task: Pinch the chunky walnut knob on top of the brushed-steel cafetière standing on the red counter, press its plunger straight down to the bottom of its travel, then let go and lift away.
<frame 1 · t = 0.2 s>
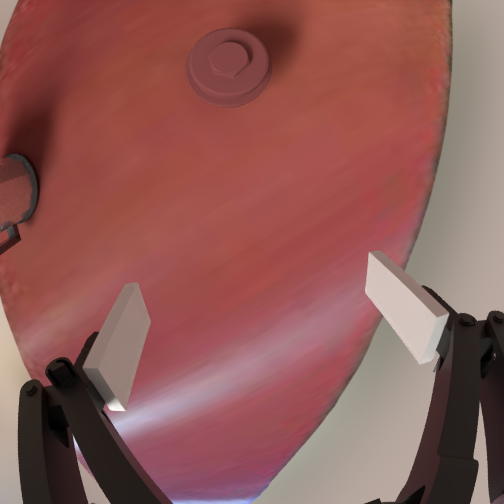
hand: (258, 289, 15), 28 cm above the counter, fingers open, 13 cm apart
mechanical component: (227, 80, 34), on the counter
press: (15, 188, 36), on the counter
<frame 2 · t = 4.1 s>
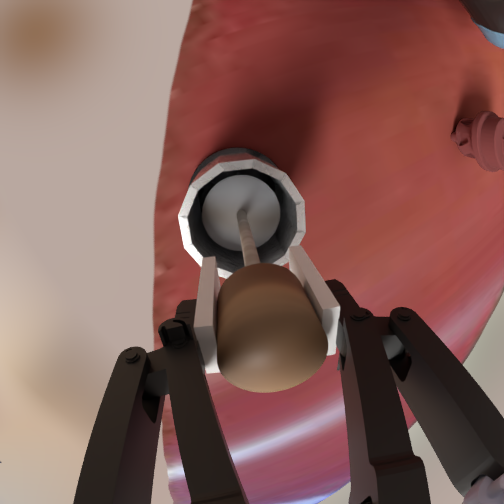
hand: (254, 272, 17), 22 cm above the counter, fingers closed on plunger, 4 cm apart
plunger: (249, 252, 20), point 19 cm above the counter, slide at 0.0 cm, touching gripper
mechanical component: (460, 136, 36), on the counter
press: (237, 195, 37), on the counter
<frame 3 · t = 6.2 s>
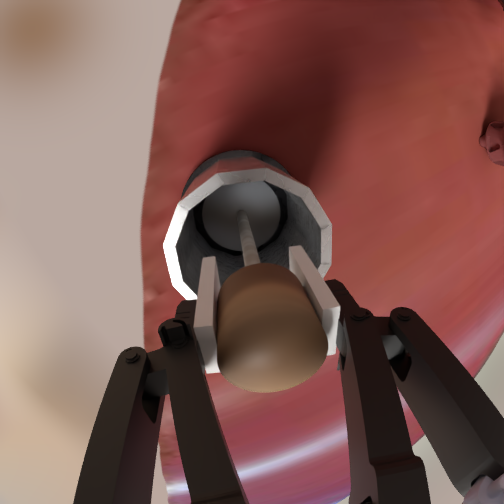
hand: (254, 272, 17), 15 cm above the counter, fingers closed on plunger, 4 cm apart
plunger: (250, 251, 20), point 12 cm above the counter, slide at 7.1 cm, touching gripper
mechanical component: (488, 141, 29), on the counter
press: (240, 208, 31), on the counter
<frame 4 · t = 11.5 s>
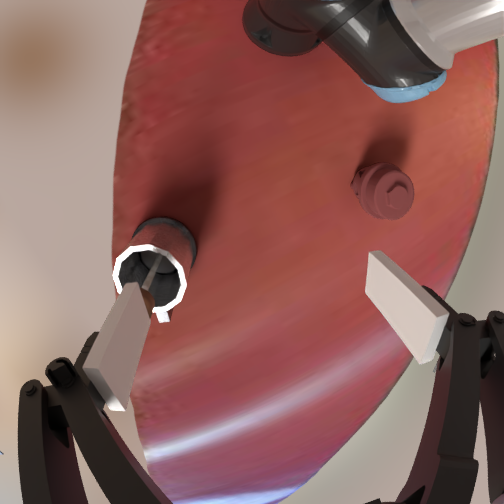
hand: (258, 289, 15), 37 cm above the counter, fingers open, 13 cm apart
plunger: (149, 278, 42), point 12 cm above the counter, slide at 7.1 cm
mechanical component: (364, 182, 51), on the counter
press: (163, 249, 52), on the counter
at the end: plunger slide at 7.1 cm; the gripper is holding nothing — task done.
